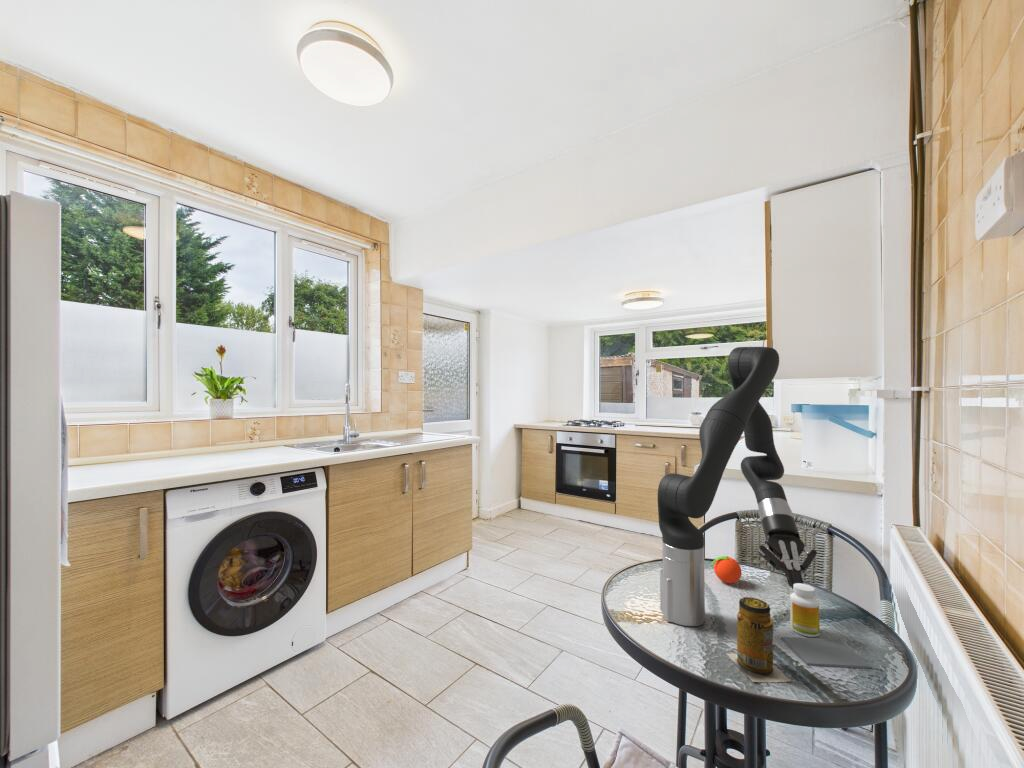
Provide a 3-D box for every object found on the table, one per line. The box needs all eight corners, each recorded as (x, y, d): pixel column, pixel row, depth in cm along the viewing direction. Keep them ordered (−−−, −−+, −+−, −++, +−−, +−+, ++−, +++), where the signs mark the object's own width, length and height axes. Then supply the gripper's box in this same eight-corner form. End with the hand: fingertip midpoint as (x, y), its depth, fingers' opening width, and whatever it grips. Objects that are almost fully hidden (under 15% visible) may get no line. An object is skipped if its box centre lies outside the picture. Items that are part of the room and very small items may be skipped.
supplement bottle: (824, 639, 90) (824, 593, 90) (796, 636, 91) (796, 591, 91) (812, 625, 95) (811, 582, 96) (786, 623, 96) (785, 580, 97)
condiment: (761, 653, 85) (760, 593, 85) (791, 682, 77) (790, 615, 77) (726, 654, 85) (725, 594, 85) (752, 683, 76) (751, 616, 77)
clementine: (716, 587, 114) (716, 561, 115) (706, 576, 121) (705, 551, 122) (746, 588, 114) (746, 561, 114) (734, 577, 121) (733, 552, 121)
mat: (806, 665, 81) (806, 663, 81) (780, 638, 90) (780, 636, 90) (872, 668, 80) (872, 666, 80) (839, 641, 89) (839, 639, 89)
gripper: (752, 510, 108) (769, 578, 96) (810, 514, 105) (836, 585, 93) (746, 525, 113) (761, 591, 101) (802, 529, 110) (825, 598, 98)
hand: (797, 588), depth 97 cm, fingers closed
